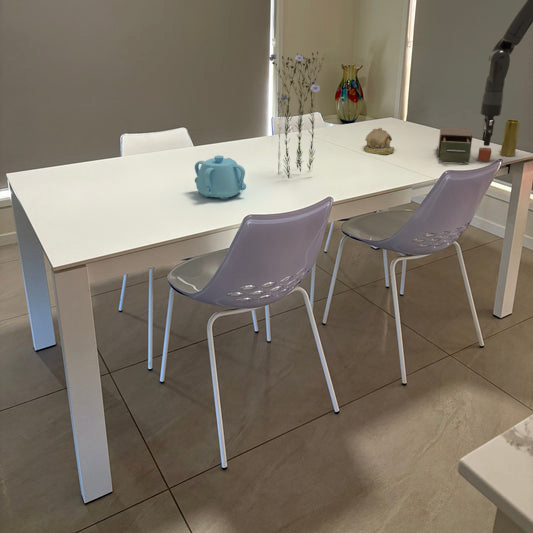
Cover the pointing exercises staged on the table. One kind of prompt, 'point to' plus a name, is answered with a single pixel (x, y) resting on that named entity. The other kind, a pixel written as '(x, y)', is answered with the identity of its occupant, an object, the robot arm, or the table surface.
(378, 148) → the ceramic model
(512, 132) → the vase
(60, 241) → the table surface
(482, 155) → the block
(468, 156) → the drawer
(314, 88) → the wildflower
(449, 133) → the cabinet
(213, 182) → the decorative pot
